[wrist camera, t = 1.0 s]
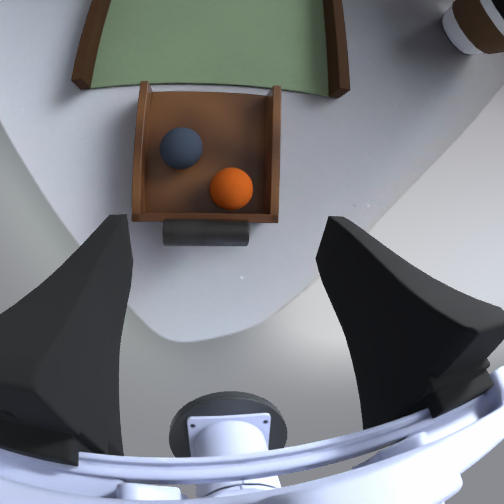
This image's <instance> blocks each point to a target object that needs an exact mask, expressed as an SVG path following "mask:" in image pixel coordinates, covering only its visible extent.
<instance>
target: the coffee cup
mask: <svg viewBox="0 0 504 504" xmlns="http://www.w3.org/2000/svg"><path fill="white" fill-rule="evenodd" d="M442 23H443V28H444V30H445V32H446V34H447V36H448V37H449V39H450V40H451V42H452V43H453V44H454V45H455V46H456V47H457V48H458V49H459V50H460V51H462V52H464V53H465V54H472V55H478V54H484V53H487V54H493V53H499V52H504V0H455V1H454V2H453V5H452V6H451V7H450V8H449V9H448V10H447V11H446V12H445V14H444V16H443V20H442Z"/></svg>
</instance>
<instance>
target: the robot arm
mask: <svg viewBox="0 0 504 504" xmlns="http://www.w3.org/2000/svg"><path fill="white" fill-rule="evenodd" d="M316 262H317V266H318V270H319V273H320V276H321V280H322V282H323V285H324V287H325V289H326V292H327V294H328V297H329V299H330V301H331V303H332V305H333V308H334V310H335V312H336V315H337V317H338V319H339V322H340V324H341V326H342V329H343V332H344V334H345V337H346V340H347V344H348V348H349V351H350V355H351V359H352V363H353V367H354V371H355V376H356V380H357V386H358V392H359V397H360V404H361V413H362V422H363V430H362V431H358V432H355V433H351V434H347V435H344V436H340V437H336V438H332V439H327V440H323V441H318V442H314V443H309V444H304V445H299V446H294V447H288V448H282V449H275V450H268V444H269V433H270V421H271V416H270V414H269V413H255V414H242V415H225V416H191V417H188V418H187V427H188V436H189V444H190V452H191V457H187V458H150V457H128V456H124V453H123V446H122V437H121V426H120V412H119V411H120V410H119V352H120V342H121V335H122V329H123V323H124V318H125V313H126V308H127V303H128V297H129V292H130V287H131V279H132V268H133V257H132V250H131V243H130V236H129V228H128V220H127V214H121V215H109V216H108V217H107V218H106V219H105V220H104V221H103V223H102V224H101V225H100V226H99V227H98V228H97V229H96V230H95V231H94V232H93V233H92V234H91V235H90V237H89V238H88V239H87V240H86V241H85V242H84V243H83V244H82V245H81V246H80V247H79V248H78V249H77V250H76V251H75V252H74V253H73V254H72V255H71V256H70V257H69V258H68V259H67V260H66V261H65V263H63V265H62V266H60V267H59V268H58V269H57V270H56V271H55V272H54V273H53V274H52V275H51V276H49V277H48V278H47V279H46V280H45V281H44V282H43V283H42V284H40V285H39V286H38V287H37V288H35V289H34V290H33V291H31V292H30V293H29V294H27V295H26V296H25V297H24V298H22V299H21V300H20V301H19V302H17V303H16V304H15V305H13V306H12V307H10V308H9V309H7V310H6V311H5V312H3V313H1V314H0V504H445V502H444V501H446V500H448V499H449V498H450V497H452V496H453V495H454V494H456V493H457V492H459V490H460V489H461V486H462V483H463V482H462V479H461V476H460V474H461V473H463V472H464V471H465V470H467V469H468V468H469V467H471V466H472V465H473V464H474V463H476V462H477V461H478V460H479V459H481V458H482V457H483V456H484V455H486V454H487V453H488V452H489V451H490V450H492V448H494V447H495V446H496V445H497V444H498V443H499V442H501V440H503V439H504V366H502V367H500V368H499V369H497V370H495V371H493V372H492V373H491V374H490V375H489V373H488V372H487V370H486V369H487V368H488V367H489V366H490V363H489V361H488V359H487V357H488V356H489V355H490V354H491V353H492V352H493V351H494V350H495V349H496V348H497V346H498V345H499V344H500V343H501V342H502V341H503V340H504V311H503V310H502V309H501V308H500V307H498V306H494V305H492V304H489V303H486V302H483V301H481V300H478V299H475V298H473V297H471V296H468V295H466V294H464V293H462V292H459V291H457V290H455V289H453V288H451V287H449V286H447V285H445V284H444V283H442V282H440V281H438V280H436V279H434V278H432V277H431V276H429V275H427V274H426V273H424V272H422V271H421V270H419V269H418V268H416V267H414V266H413V265H411V264H410V263H408V262H407V261H405V260H404V259H402V258H401V257H400V256H398V255H396V254H395V253H394V252H393V251H391V250H390V249H388V248H387V247H386V246H384V245H383V244H382V243H380V242H379V241H377V240H376V239H375V238H374V237H372V236H371V235H369V234H368V233H367V232H365V231H364V230H363V229H361V228H360V227H358V226H357V225H356V224H354V223H353V222H351V221H350V220H348V219H346V218H344V217H339V216H329V217H328V220H327V223H326V227H325V230H324V233H323V236H322V240H321V243H320V246H319V249H318V253H317V256H316ZM265 420H267V421H266V422H263V421H265ZM191 424H194V426H191ZM396 443H397V444H396ZM393 444H395V445H393ZM390 445H392V446H390ZM387 446H390V447H388V448H386V449H384V450H381V451H379V452H378V453H377V454H376V455H374V456H373V457H371V458H370V459H368V460H366V461H365V462H363V463H361V464H359V465H357V466H355V467H353V468H352V469H351V470H350V471H347V472H344V473H340V474H336V475H333V476H329V477H325V478H321V479H318V480H313V481H309V482H305V483H301V484H297V485H292V486H287V487H281V484H280V482H279V479H278V476H277V475H283V474H289V473H294V472H299V471H304V470H308V469H313V468H317V467H321V466H325V465H329V464H333V463H337V462H340V461H344V460H347V459H351V458H354V457H357V456H361V455H364V454H367V453H370V452H373V451H376V450H379V449H382V448H385V447H387ZM147 484H196V496H197V499H190V500H188V497H187V496H186V495H184V494H180V490H179V489H178V488H177V487H166V486H155V485H147Z"/></svg>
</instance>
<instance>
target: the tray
mask: <svg viewBox="0 0 504 504" xmlns="http://www.w3.org/2000/svg"><path fill="white" fill-rule="evenodd" d="M179 127H185V128H189V129H192V130H193V131H195V132H196V133H197V134H198V135H199V137H200V139H201V141H202V146H203V149H202V154H201V157H200V159H199V160H198V161H197V163H196V164H194V165H193V166H191V167H189V168H187V169H181V170H180V169H174V168H171V167H169V166H168V165H167V164H166V163H165V162H164V161H163V160H162V158H161V155H160V144H161V141H162V139H163V137H164V136H165V135H166V134H167V133H168V132H169V131H170V130H172V129H175V128H179ZM280 139H281V86H275V85H273V87H272V88H271V90H270V91H269V92H268V94H267V95H266V96H263V95H252V94H239V93H222V92H185V91H176V92H153V91H152V89H151V86H150V83H149V81H141V82H140V90H139V99H138V107H137V117H136V128H135V141H134V155H133V175H132V222H163V244H164V246H247V245H248V243H249V222H253V223H278V214H279V181H280ZM232 167H233V168H238V169H241V170H243V171H244V172H245V173H247V175H248V176H249V177H250V179H251V181H252V184H253V193H252V197H251V199H250V200H249V202H248V203H247V204H246V205H245V206H244V207H242V208H240V209H237V210H225V209H223V208H221V207H219V206H218V205H216V203H215V202H214V201H213V199H212V197H211V195H210V184H211V181H212V179H213V177H214V176H215V174H216V173H218V172H219V171H220V170H222V169H225V168H232Z"/></svg>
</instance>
